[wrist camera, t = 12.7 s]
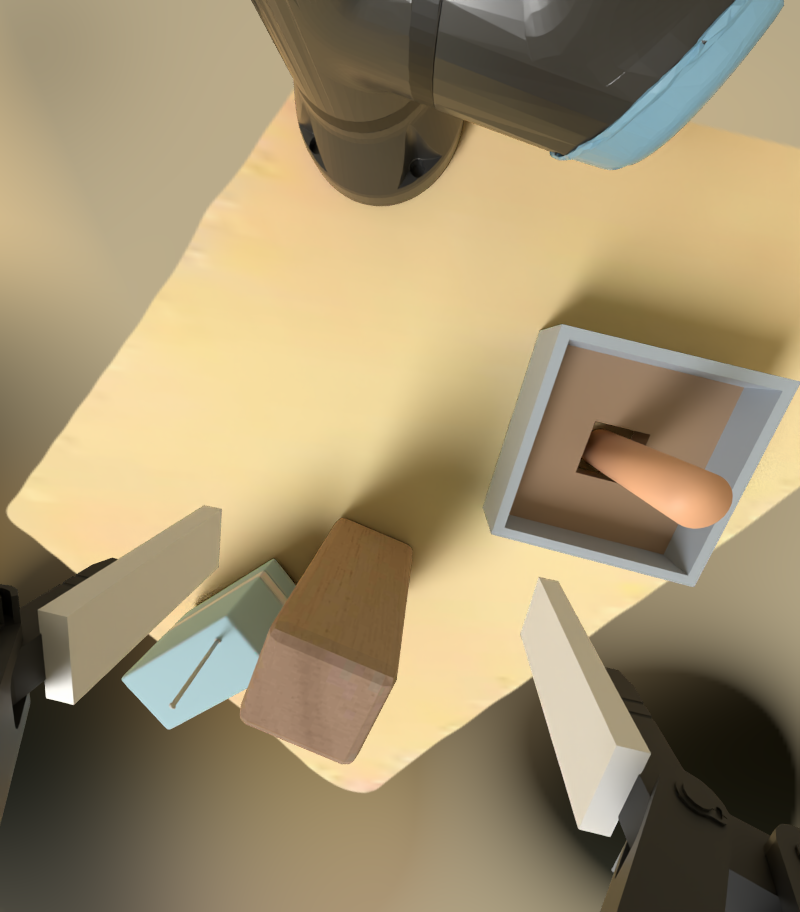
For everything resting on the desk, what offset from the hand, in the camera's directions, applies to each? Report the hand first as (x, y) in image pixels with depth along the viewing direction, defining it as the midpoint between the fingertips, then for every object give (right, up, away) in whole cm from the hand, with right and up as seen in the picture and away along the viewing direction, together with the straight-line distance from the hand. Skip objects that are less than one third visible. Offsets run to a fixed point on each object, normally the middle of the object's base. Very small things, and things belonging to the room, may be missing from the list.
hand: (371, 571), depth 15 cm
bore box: (+23, +6, +25) cm, 34 cm away
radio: (-19, -16, +35) cm, 42 cm away
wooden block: (-3, -9, +32) cm, 33 cm away
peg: (+23, +6, +25) cm, 34 cm away
